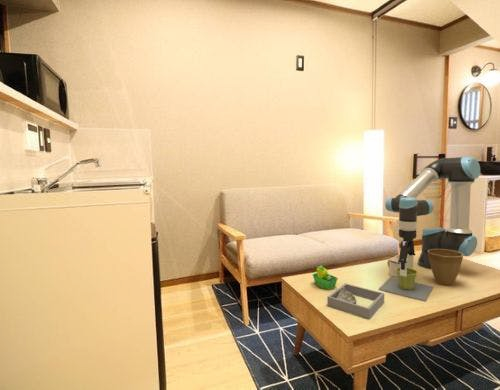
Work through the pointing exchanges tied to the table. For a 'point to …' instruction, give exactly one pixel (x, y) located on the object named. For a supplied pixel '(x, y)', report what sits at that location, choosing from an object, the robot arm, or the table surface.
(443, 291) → the table surface
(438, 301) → the table surface
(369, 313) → the rock display frame
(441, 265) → the plant pot
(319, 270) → the fruit basket
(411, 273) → the plant pot
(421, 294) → the charcoal mat
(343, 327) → the table surface
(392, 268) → the teacup with lid
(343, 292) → the rock sample
